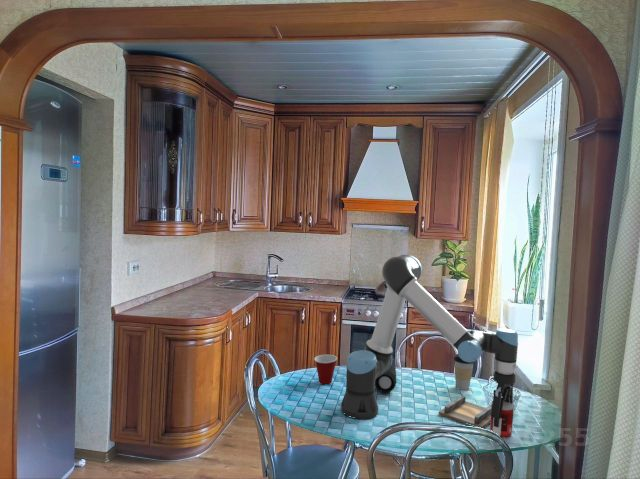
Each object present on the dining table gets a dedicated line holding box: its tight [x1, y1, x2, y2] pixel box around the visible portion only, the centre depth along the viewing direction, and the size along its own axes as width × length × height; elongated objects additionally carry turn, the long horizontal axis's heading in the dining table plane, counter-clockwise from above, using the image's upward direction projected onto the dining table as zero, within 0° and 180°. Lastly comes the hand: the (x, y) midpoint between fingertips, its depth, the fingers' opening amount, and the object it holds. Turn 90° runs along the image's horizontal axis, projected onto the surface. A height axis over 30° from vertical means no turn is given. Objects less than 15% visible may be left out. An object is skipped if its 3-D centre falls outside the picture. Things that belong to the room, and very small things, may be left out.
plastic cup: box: [313, 353, 338, 385], centre depth 219 cm, size 11×11×12 cm
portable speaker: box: [375, 359, 397, 393], centre depth 221 cm, size 26×10×10 cm, turn 172°
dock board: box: [438, 395, 492, 429], centre depth 190 cm, size 18×18×4 cm
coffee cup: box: [453, 353, 476, 391], centre depth 219 cm, size 9×9×15 cm
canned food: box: [489, 400, 515, 438], centre depth 176 cm, size 8×8×11 cm
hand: (500, 430), depth 176 cm, fingers closed on canned food, 8 cm apart
